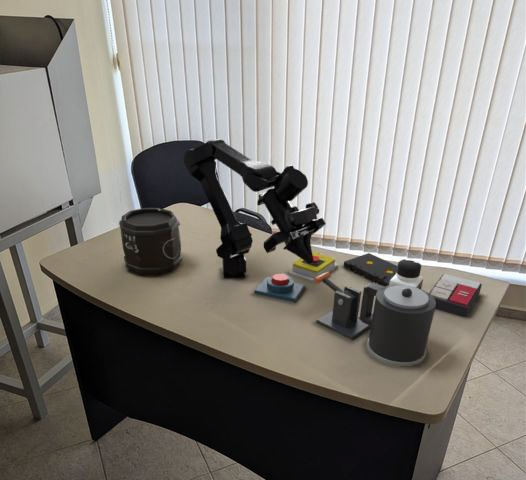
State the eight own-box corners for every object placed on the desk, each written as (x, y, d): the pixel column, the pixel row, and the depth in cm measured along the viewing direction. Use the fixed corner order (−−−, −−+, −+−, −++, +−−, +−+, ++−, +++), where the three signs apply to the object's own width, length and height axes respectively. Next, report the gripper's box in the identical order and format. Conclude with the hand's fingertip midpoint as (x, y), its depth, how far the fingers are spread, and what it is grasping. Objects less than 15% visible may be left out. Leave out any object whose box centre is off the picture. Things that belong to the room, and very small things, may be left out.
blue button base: (254, 294, 138) (254, 283, 137) (266, 281, 146) (266, 270, 144) (294, 303, 135) (295, 292, 133) (304, 289, 142) (305, 278, 140)
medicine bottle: (411, 310, 133) (419, 270, 126) (385, 303, 136) (392, 263, 130) (419, 299, 138) (427, 260, 132) (394, 292, 141) (401, 254, 135)
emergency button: (288, 261, 148) (314, 245, 158) (288, 274, 150) (313, 257, 160) (315, 269, 143) (340, 252, 153) (314, 283, 145) (338, 265, 156)
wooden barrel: (186, 252, 162) (183, 206, 154) (179, 277, 147) (176, 227, 138) (130, 252, 161) (124, 205, 153) (118, 277, 146) (111, 226, 138)
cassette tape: (343, 267, 155) (343, 260, 154) (368, 258, 161) (369, 252, 160) (387, 289, 143) (388, 282, 142) (412, 278, 149) (414, 272, 148)
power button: (270, 284, 137) (270, 278, 137) (275, 277, 141) (275, 272, 140) (284, 287, 136) (285, 281, 135) (290, 280, 140) (290, 275, 139)
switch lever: (312, 282, 124) (315, 275, 123) (324, 276, 127) (327, 269, 126) (343, 308, 120) (347, 301, 119) (355, 301, 123) (359, 294, 122)
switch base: (315, 323, 126) (319, 290, 121) (337, 311, 132) (340, 278, 127) (351, 341, 120) (356, 306, 115) (372, 327, 125) (377, 293, 120)
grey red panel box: (427, 293, 133) (443, 271, 144) (424, 307, 136) (440, 284, 146) (469, 305, 128) (483, 281, 139) (465, 319, 131) (479, 294, 141)
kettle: (343, 344, 119) (351, 283, 110) (375, 323, 127) (384, 264, 118) (406, 375, 109) (420, 310, 100) (435, 350, 117) (451, 288, 109)
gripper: (273, 201, 114) (307, 260, 113) (323, 185, 126) (354, 238, 125) (249, 225, 123) (280, 279, 122) (297, 208, 134) (326, 257, 134)
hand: (311, 263), depth 125 cm, fingers closed
